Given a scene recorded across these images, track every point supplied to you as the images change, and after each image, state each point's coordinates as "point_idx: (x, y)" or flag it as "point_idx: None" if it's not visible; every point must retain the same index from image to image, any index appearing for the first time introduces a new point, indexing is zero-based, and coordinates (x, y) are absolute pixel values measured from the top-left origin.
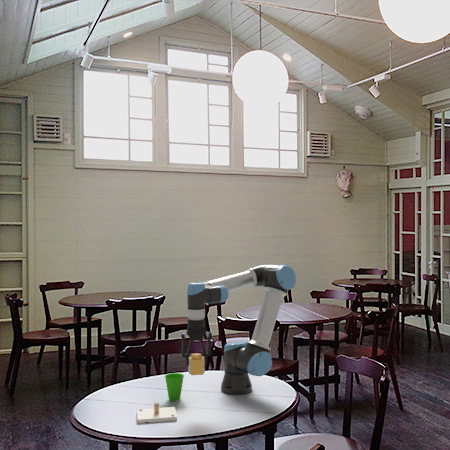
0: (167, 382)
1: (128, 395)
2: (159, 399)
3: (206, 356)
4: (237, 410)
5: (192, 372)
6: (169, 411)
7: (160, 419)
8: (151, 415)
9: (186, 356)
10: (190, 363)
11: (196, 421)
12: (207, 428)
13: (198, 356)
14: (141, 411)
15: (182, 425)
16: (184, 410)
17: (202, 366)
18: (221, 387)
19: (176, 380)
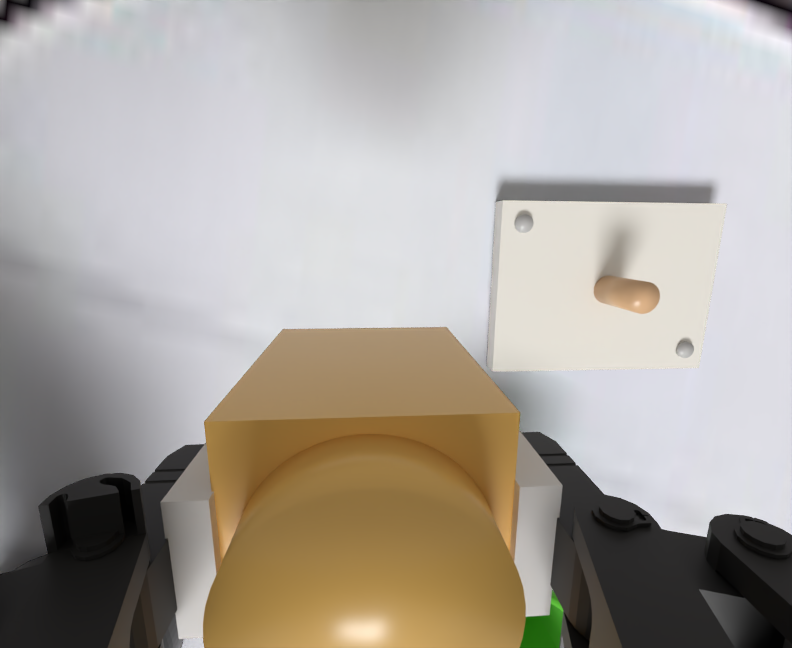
0: (552, 590)
1: None
2: None
3: (70, 499)
4: (108, 291)
5: (435, 336)
6: (532, 299)
7: (594, 202)
8: (641, 255)
9: (661, 529)
10: None
11: (384, 160)
12: (330, 22)
13: (323, 481)
14: (682, 332)
15: (474, 114)
16: None
17: (269, 361)
18: (174, 639)
19: None
